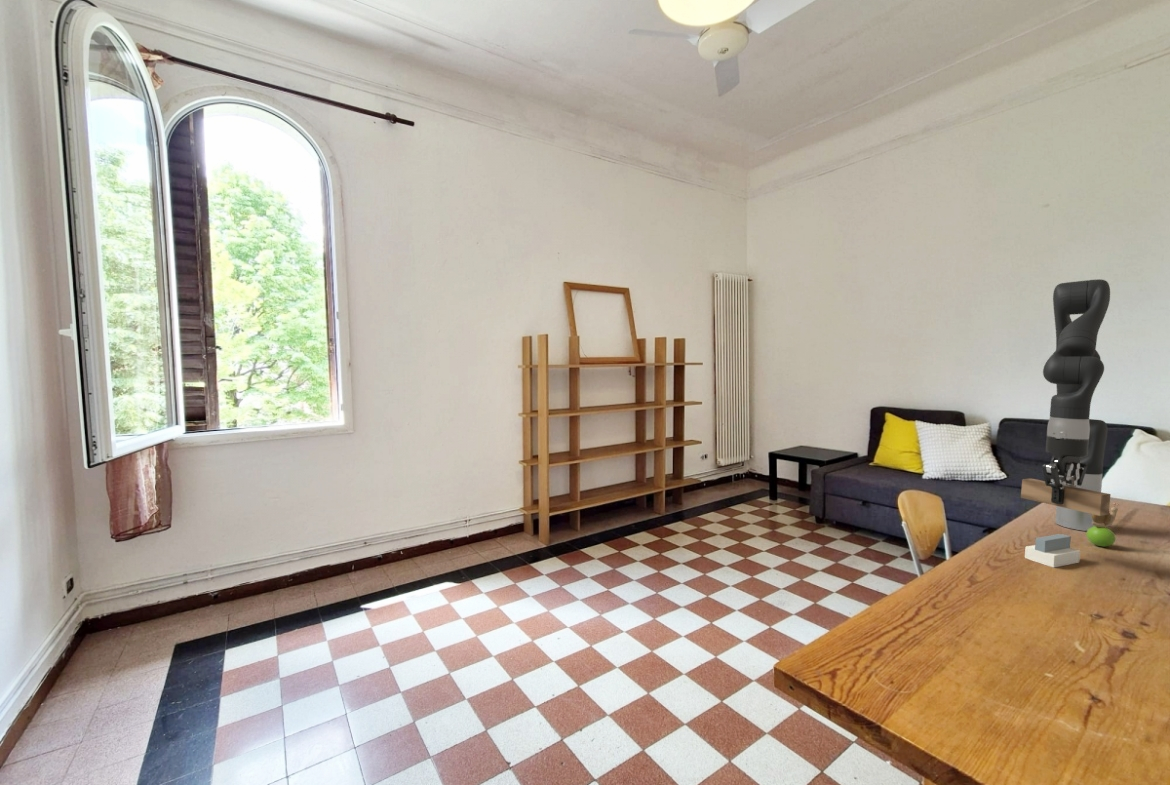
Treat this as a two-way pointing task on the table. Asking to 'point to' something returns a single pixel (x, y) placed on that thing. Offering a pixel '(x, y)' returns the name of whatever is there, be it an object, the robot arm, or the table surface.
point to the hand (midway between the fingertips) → (1062, 502)
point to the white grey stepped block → (1053, 551)
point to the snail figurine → (1102, 529)
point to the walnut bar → (1068, 497)
